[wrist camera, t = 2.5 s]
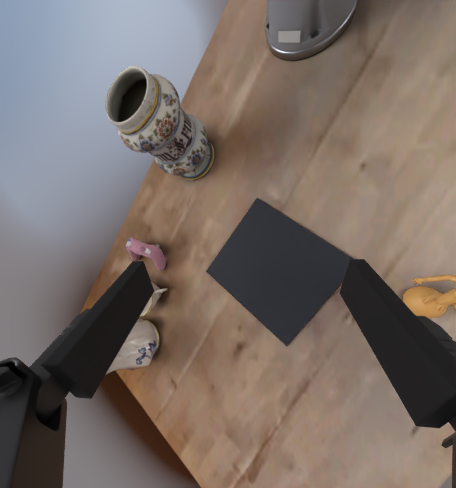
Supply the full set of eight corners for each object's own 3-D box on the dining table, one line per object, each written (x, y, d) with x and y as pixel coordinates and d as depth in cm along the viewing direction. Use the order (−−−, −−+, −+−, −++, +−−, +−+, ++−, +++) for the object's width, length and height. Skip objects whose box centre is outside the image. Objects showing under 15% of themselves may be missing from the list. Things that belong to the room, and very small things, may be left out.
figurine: (375, 293, 28) (419, 316, 17) (398, 258, 27) (460, 258, 16) (443, 329, 25) (554, 386, 14) (471, 291, 24) (613, 318, 13)
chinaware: (160, 262, 46) (84, 256, 32) (197, 318, 39) (120, 345, 24) (103, 333, 52) (17, 356, 38) (126, 393, 45) (31, 451, 30)
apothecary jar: (229, 147, 39) (173, 65, 23) (197, 195, 41) (125, 152, 25) (193, 124, 43) (122, 42, 27) (165, 169, 46) (85, 118, 29)
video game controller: (174, 256, 45) (158, 241, 39) (164, 273, 43) (145, 260, 37) (145, 246, 49) (126, 231, 43) (134, 261, 47) (113, 247, 41)
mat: (257, 198, 36) (256, 198, 36) (358, 262, 29) (359, 262, 29) (206, 271, 39) (206, 271, 39) (286, 345, 32) (286, 346, 32)
